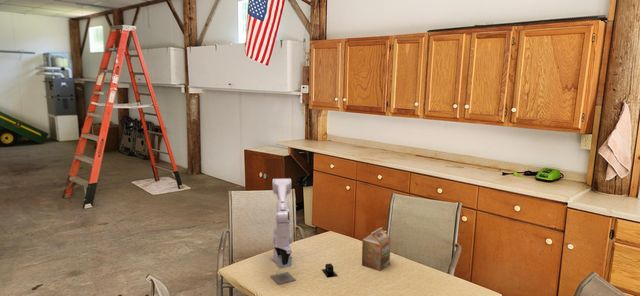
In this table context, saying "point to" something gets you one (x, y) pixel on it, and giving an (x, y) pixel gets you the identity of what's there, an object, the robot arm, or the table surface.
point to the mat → (283, 278)
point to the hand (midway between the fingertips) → (283, 262)
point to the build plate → (329, 271)
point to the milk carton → (376, 250)
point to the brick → (280, 264)
